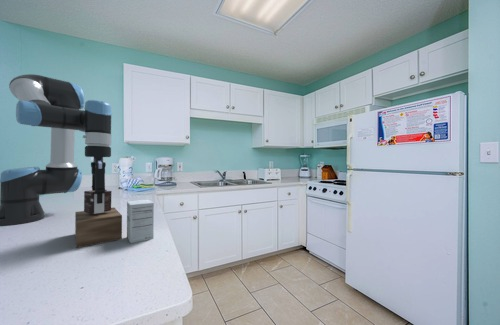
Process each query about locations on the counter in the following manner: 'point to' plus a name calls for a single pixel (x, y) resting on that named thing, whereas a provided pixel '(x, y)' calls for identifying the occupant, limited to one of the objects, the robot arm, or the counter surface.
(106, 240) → the walnut stand
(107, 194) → the box
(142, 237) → the supplement box
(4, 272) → the counter surface
